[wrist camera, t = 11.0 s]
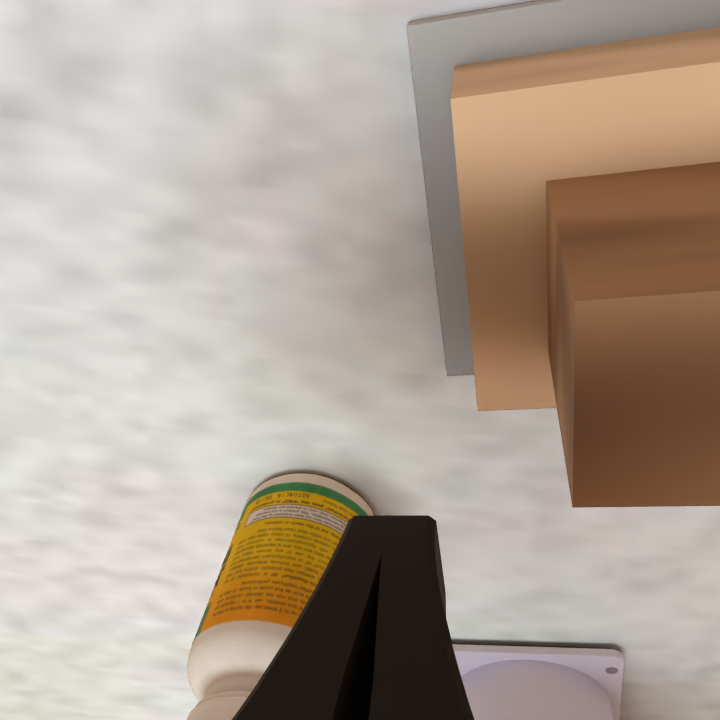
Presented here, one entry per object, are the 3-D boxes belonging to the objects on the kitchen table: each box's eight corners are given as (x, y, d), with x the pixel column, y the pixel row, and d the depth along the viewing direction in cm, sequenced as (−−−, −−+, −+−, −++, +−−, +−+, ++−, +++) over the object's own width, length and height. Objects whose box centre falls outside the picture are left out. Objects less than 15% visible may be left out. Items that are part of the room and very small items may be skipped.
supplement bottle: (390, 559, 27) (357, 826, 20) (267, 562, 29) (190, 813, 21) (364, 463, 24) (313, 732, 17) (228, 470, 26) (122, 724, 18)
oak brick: (771, 329, 18) (815, 396, 16) (477, 347, 20) (477, 411, 18) (836, 9, 14) (912, 34, 12) (454, 65, 16) (450, 99, 13)
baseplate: (796, 345, 19) (804, 357, 19) (448, 365, 21) (447, 376, 21) (890, -58, 14) (905, -55, 13) (408, 21, 16) (406, 26, 15)
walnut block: (745, 342, 16) (841, 504, 11) (548, 353, 16) (572, 507, 12) (779, 154, 13) (915, 276, 9) (546, 180, 14) (574, 301, 10)
